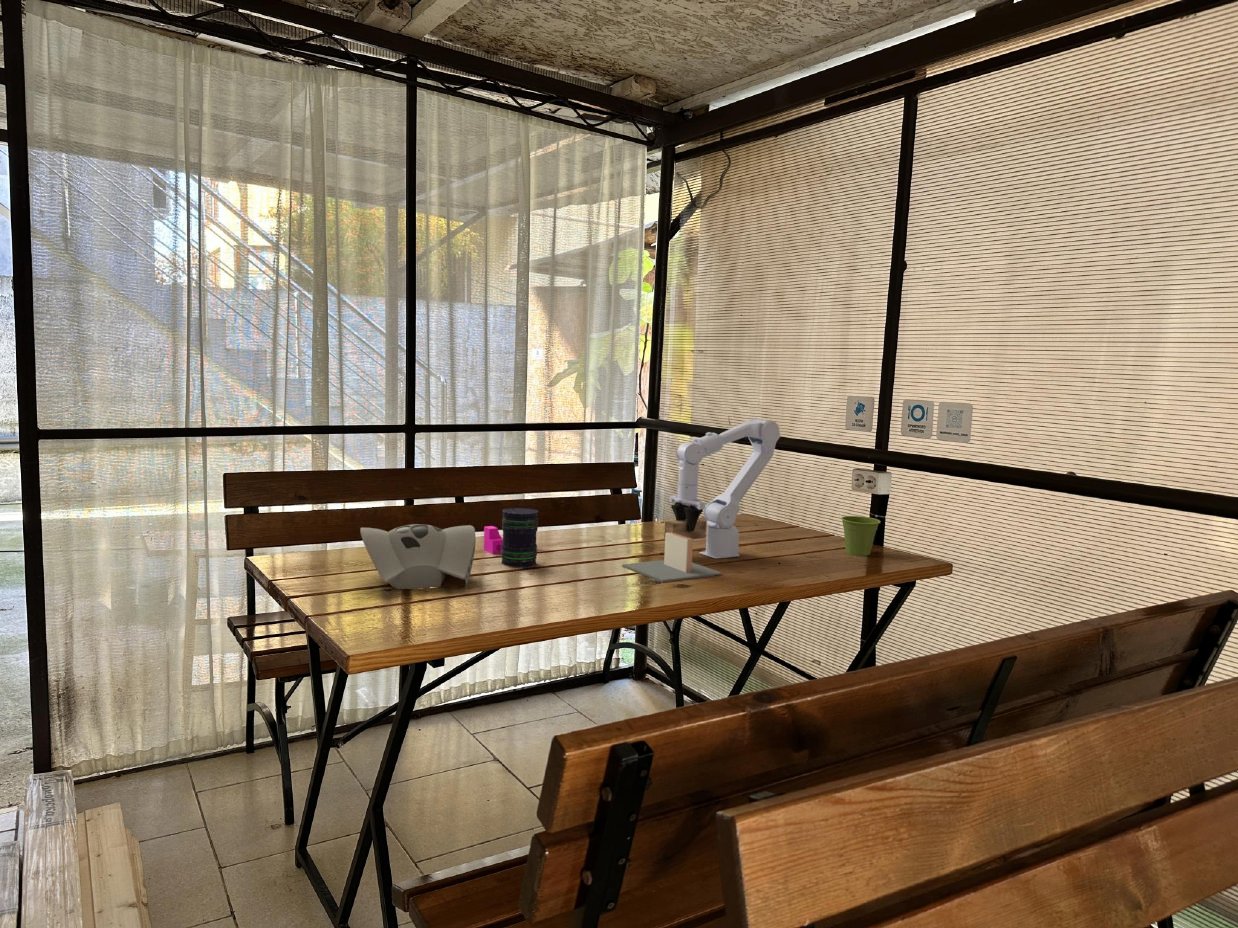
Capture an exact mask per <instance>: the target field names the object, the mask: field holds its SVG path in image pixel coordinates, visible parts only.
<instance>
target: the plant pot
mask: <svg viewBox="0 0 1238 928" xmlns="http://www.w3.org/2000/svg"><path fill="white" fill-rule="evenodd" d="M840 520H842V528H843V535H844V547H845V553H846V554H847V555H850V556H854V555H855V556H856V557H868V556H867V555H869V556H870V554H871V551H872V548H873V545H874V540H875V536H876V532H877V530H878V526H879V524H881V520H880V519H877V518H873V517H868V516H861V515H860V516H859V515H858V516H857V515H845V516H841V517H840Z"/></svg>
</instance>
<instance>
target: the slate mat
mask: <svg viewBox="0 0 1238 928" xmlns="http://www.w3.org/2000/svg"><path fill="white" fill-rule="evenodd" d="M622 568H625V569H628V570H630V571H633V572H635V573H637V574H640V575H643V576H644V577H646V578H647V577H648V578H650V579H652V580H655V581H658V582H660V583H669V582H676V581H685V580H692V579H693V580H694V579H698V578H708V577H715V575H717V576H722V575H723V573H722V572H720V571H718V570H715V569H714V568H713V569H712V568H709V567H706V566H704V565H701V564H699V563H695V562H693V561H692V570H691V572H683V571H681V570H678V569H675V568H673V567H670V566H667V565H665V564H664V559H659V560H651V561H641V562H634V563H633V562H631V563H623V564H622Z"/></svg>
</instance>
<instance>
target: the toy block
mask: <svg viewBox="0 0 1238 928" xmlns="http://www.w3.org/2000/svg"><path fill="white" fill-rule="evenodd" d="M502 544H503V536H501V534H500V532H499V528H498V527H497V526H493V525H490V526H484V527H483V551H484V552H487V553H489V554H492V555H497V554H501V550H502Z"/></svg>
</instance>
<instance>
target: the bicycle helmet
mask: <svg viewBox="0 0 1238 928" xmlns="http://www.w3.org/2000/svg"><path fill="white" fill-rule="evenodd" d="M359 531H360V532H359V533H360V536H361V539H362V542H363V545H364V547H365V550H366V551H367V553H368V556H369V559H370V560H371V561H372V564H373V566H374V568H375V569H376V571H377V573H378V574H379V576H380V577H381V579H382V580H383V582H385V583H386V584H387V583H388V584H389V585H390V586H391V587H393V588H394V587H395V588H394V589H396V588H397V589H396V590H399V589H418V590H420V589H419V588H430V587H440V586H449V587H460V586H464V588H466V587H467V585H468V582H469V579H470V577H471V573H472V567H473V563H474V559H475V553H476V542H477V541H476V540H477V539H476V537H477V536H476V529H475V527H474V526H473V525H471V524H469V525H458V526H452V527H451V526H450V527H448V528H447V527H446V528H443V529H442V528H440V527H437V526H434V525H430V524H419V523H414V524H406V525H401V526H398V527H395V528H393V529H391V530H389V531H386V530H383V529H380V528H372V527H360V530H359ZM440 588H441V587H440Z"/></svg>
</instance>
